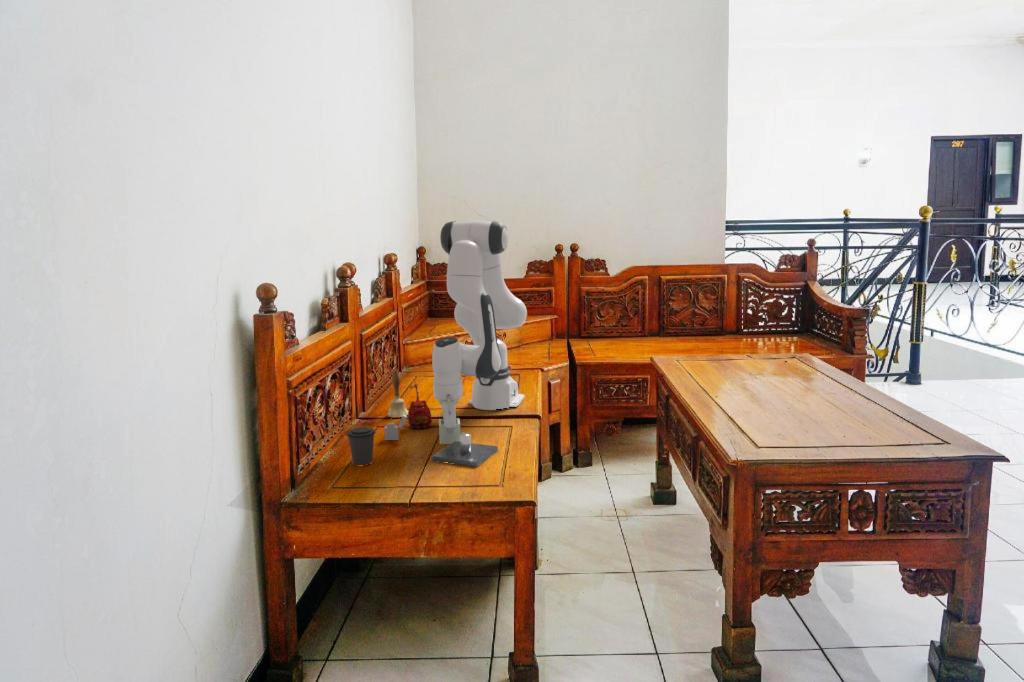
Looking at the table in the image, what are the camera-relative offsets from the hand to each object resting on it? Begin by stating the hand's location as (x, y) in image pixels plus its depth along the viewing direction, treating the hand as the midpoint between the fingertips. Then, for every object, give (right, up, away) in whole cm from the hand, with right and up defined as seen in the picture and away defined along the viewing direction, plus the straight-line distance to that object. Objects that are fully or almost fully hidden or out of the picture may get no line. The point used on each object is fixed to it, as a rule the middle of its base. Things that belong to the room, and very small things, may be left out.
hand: (449, 434), depth 222 cm
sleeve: (0, -2, 0) cm, 2 cm away
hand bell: (-20, +3, +28) cm, 35 cm away
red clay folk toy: (-11, 0, +15) cm, 19 cm away
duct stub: (+6, -4, -14) cm, 16 cm away
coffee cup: (-23, -6, -17) cm, 30 cm away
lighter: (-17, -2, +2) cm, 17 cm away
